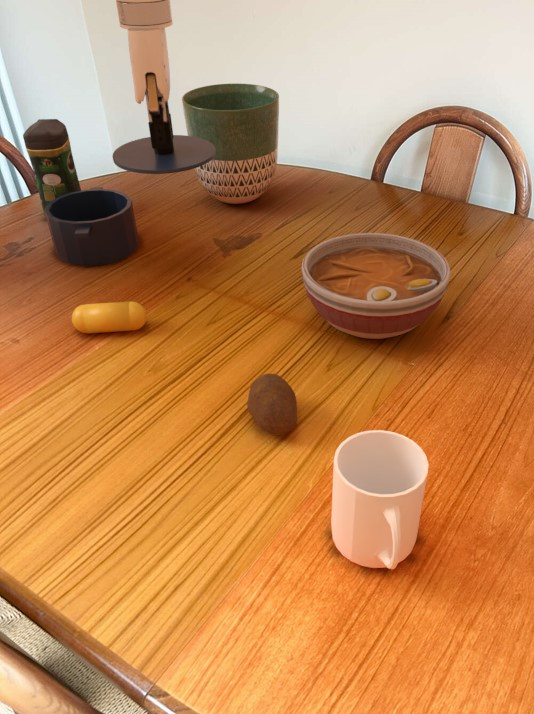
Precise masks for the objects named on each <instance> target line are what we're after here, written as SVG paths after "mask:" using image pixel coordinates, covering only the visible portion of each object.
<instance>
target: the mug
mask: <svg viewBox="0 0 534 714" xmlns="http://www.w3.org/2000/svg"><path fill="white" fill-rule="evenodd" d="M429 466H430V465H429V461H428V457H427V455H426V453H425V452H424V450H423V448H422V447H421V446H420V445H418V443H416V442H415V440H412V439H411V438H409V437H407V436H405V435H404V434H400V433H398V432H394V431H390V430H382V429H374V430H373V429H372V430H365V431H360V432H357V433H354V434H352V435H350V436H348V437H347V438H346V439H344V440H342V442H340V443H339V445H338V447H337V448H336V450H335V453H334V456H333V468H332V474H333V475H332V495H331V496H332V497H331V515H330V516H331V518H330V519H331V520H330V526H331V527H330V528H331V538H332V541H333V544H334V546H335V548H336V549H337V551H338V552H339V553H340V554H341V555H342V556H343V557H344V558H346V559H348V561H350V562H352V563H354V564H357V565H359V566H362V567H366V568H372V569H378V568H382V569H383V568H384V569H385V568H387V569H389V570H395V569H396V568H397V566H398V564H399V563H401V562H403V561H405V559H406V558H407V557H408V556H409V555H410V554H411V553H412V551H413V549H414V547H415V544H416V542H417V537H418V532H419V525H420V520H421V516H422V515H421V514H422V508H423V504H424V497H425V491H426V485H427V480H428V474H429Z"/></svg>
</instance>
